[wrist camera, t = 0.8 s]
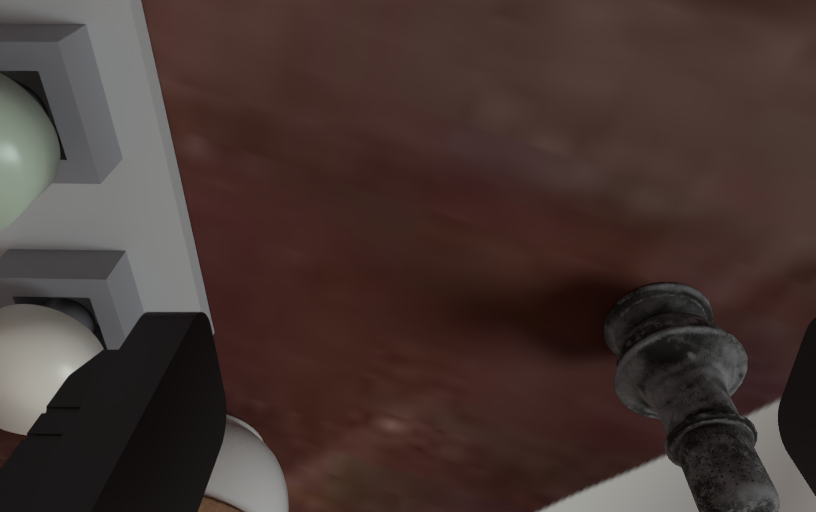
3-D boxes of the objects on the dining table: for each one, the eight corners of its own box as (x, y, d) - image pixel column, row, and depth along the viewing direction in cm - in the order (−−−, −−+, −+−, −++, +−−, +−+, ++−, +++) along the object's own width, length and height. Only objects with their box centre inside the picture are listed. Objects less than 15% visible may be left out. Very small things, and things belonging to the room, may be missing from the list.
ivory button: (-9, 271, 28) (-76, 343, 24) (110, 273, 28) (60, 345, 24) (31, 359, 31) (-24, 434, 27) (138, 360, 31) (97, 437, 27)
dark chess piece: (671, 379, 34) (770, 607, 25) (575, 346, 33) (638, 572, 23) (743, 300, 31) (890, 525, 21) (640, 261, 30) (745, 479, 20)
